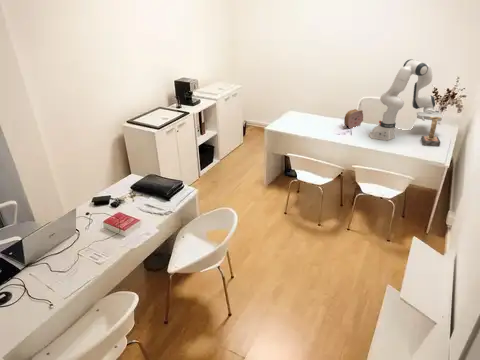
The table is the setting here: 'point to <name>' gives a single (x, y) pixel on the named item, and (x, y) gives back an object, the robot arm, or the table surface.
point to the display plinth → (430, 141)
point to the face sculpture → (353, 118)
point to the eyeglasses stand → (433, 128)
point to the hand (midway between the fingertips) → (429, 120)
